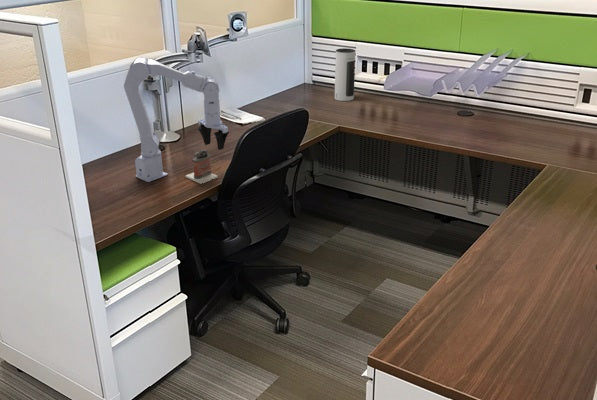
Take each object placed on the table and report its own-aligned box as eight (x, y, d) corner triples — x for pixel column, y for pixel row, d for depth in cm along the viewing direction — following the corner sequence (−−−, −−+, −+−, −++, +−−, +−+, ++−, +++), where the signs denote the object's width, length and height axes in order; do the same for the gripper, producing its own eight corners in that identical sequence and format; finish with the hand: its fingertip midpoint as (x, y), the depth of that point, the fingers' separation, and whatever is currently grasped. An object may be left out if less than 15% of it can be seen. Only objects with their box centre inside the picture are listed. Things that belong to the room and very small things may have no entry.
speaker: (340, 102, 326) (342, 52, 315) (330, 97, 334) (331, 48, 323) (357, 99, 331) (359, 50, 320) (346, 94, 339) (348, 46, 328)
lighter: (207, 171, 240) (205, 146, 236) (213, 173, 238) (212, 148, 234) (191, 177, 234) (189, 152, 230) (198, 179, 232) (196, 154, 228)
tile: (201, 183, 231) (201, 181, 230) (185, 177, 236) (185, 175, 236) (217, 177, 236) (217, 175, 236) (201, 171, 242) (201, 169, 241)
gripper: (233, 113, 229) (235, 148, 235) (207, 105, 238) (209, 139, 243) (219, 118, 224) (221, 153, 230) (193, 109, 233) (195, 144, 239)
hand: (214, 146), depth 236 cm, fingers open, 7 cm apart
